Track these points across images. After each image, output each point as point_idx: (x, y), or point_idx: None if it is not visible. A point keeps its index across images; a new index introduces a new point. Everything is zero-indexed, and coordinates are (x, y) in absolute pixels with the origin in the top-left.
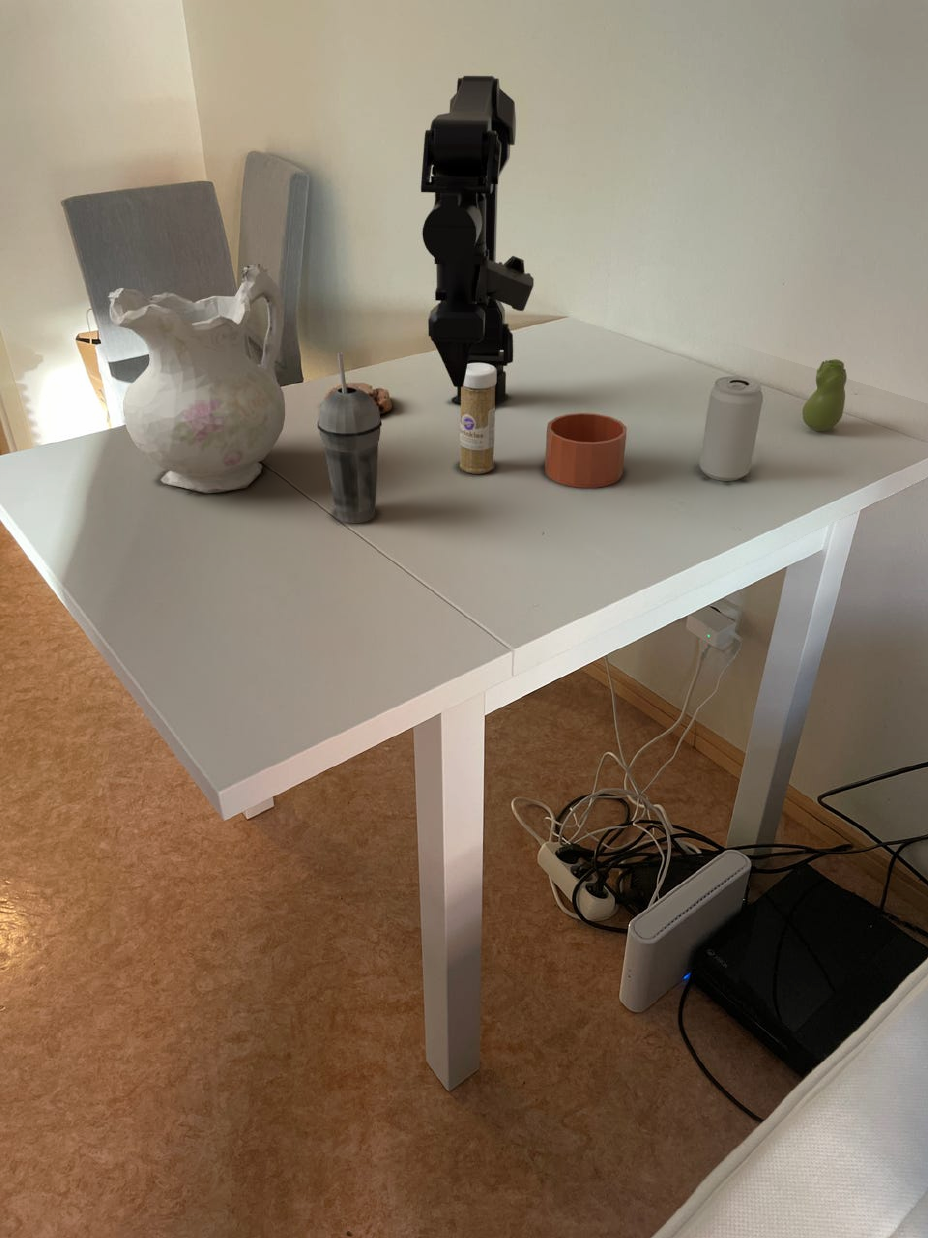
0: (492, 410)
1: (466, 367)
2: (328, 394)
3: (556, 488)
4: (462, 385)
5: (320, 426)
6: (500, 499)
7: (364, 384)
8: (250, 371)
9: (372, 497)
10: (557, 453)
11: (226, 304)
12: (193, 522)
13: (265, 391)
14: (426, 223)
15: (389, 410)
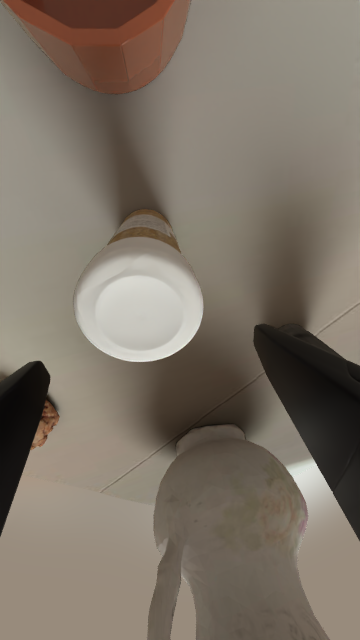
0: (156, 228)
1: (325, 351)
2: (32, 448)
3: (201, 52)
4: (265, 325)
5: None
6: (251, 177)
7: None
8: (246, 550)
9: (314, 337)
10: (178, 17)
11: None
12: (289, 427)
13: (253, 515)
14: None
15: None
